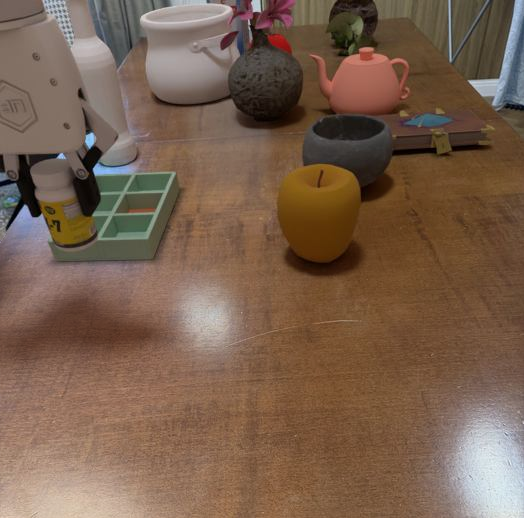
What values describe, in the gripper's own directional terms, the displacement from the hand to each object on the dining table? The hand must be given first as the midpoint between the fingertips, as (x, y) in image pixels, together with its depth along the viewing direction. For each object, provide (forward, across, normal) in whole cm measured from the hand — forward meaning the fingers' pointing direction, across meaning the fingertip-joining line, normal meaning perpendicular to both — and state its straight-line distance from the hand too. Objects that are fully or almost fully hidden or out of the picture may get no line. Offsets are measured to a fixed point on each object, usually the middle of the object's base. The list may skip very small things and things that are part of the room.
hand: (66, 209), depth 52 cm
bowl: (+17, +32, +38) cm, 52 cm away
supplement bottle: (+4, 0, 0) cm, 4 cm away
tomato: (+17, +15, +106) cm, 108 cm away
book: (+17, +46, +56) cm, 75 cm away
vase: (+17, +15, +73) cm, 76 cm away
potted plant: (+17, +38, +124) cm, 131 cm away
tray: (+17, -5, +27) cm, 32 cm away
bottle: (+17, -14, +53) cm, 57 cm away
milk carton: (+18, +2, +124) cm, 125 cm away
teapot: (+17, +36, +74) cm, 84 cm away
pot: (+18, -4, +94) cm, 95 cm away
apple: (+17, +27, +16) cm, 35 cm away
